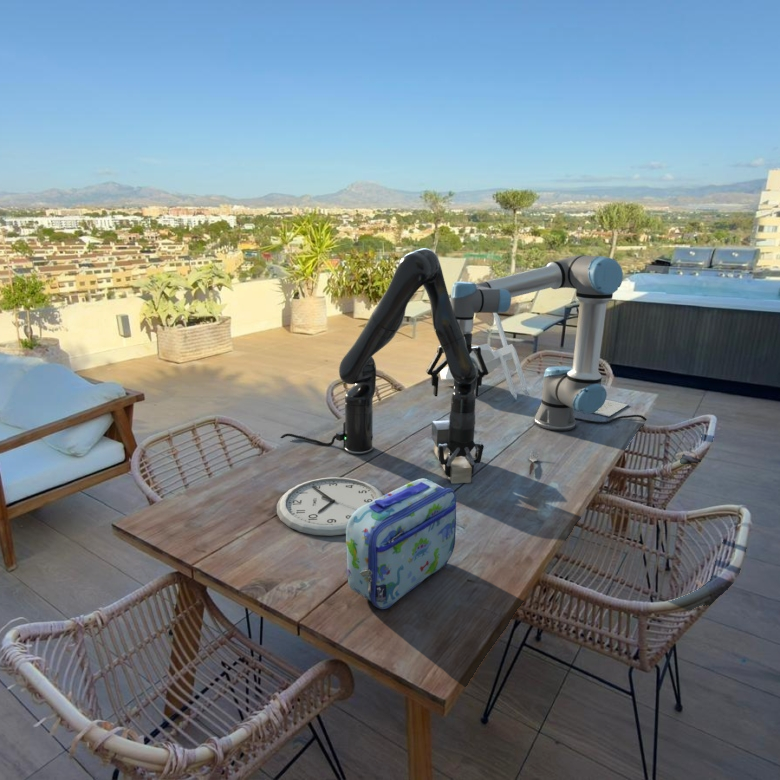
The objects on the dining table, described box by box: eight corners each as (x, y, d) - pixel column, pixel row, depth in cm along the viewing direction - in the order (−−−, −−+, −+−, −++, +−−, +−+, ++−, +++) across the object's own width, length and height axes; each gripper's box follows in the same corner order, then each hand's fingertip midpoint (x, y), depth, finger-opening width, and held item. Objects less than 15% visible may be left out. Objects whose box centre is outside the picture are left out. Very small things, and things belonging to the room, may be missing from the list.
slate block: (431, 437, 177) (432, 421, 175) (454, 436, 178) (455, 420, 176) (436, 447, 169) (437, 429, 168) (460, 446, 171) (461, 428, 169)
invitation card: (608, 416, 214) (573, 407, 224) (608, 416, 214) (573, 408, 224) (628, 404, 229) (594, 396, 238) (628, 405, 229) (594, 397, 238)
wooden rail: (433, 451, 179) (434, 437, 177) (450, 450, 180) (451, 436, 178) (451, 483, 156) (452, 468, 155) (470, 482, 157) (472, 467, 155)
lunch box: (375, 622, 100) (376, 527, 94) (339, 595, 108) (338, 505, 101) (459, 565, 118) (465, 481, 112) (424, 545, 125) (427, 465, 119)
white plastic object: (461, 429, 252) (437, 405, 227) (444, 352, 274) (420, 323, 250) (535, 404, 240) (518, 377, 215) (510, 326, 262) (492, 293, 237)
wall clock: (392, 527, 129) (268, 531, 127) (391, 533, 130) (269, 537, 127) (383, 473, 158) (282, 475, 155) (383, 478, 158) (282, 480, 156)
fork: (525, 475, 162) (525, 469, 161) (530, 455, 176) (531, 449, 176) (534, 476, 161) (534, 470, 161) (538, 456, 175) (539, 450, 175)
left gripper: (481, 418, 158) (477, 469, 163) (435, 420, 156) (432, 471, 161) (489, 427, 151) (485, 480, 156) (441, 429, 149) (438, 482, 154)
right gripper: (494, 329, 172) (488, 391, 178) (419, 328, 168) (416, 391, 174) (502, 334, 164) (495, 398, 171) (424, 333, 161) (420, 398, 167)
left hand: (458, 475), depth 159 cm, fingers closed on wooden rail, 6 cm apart
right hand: (455, 395), depth 173 cm, fingers open, 13 cm apart
